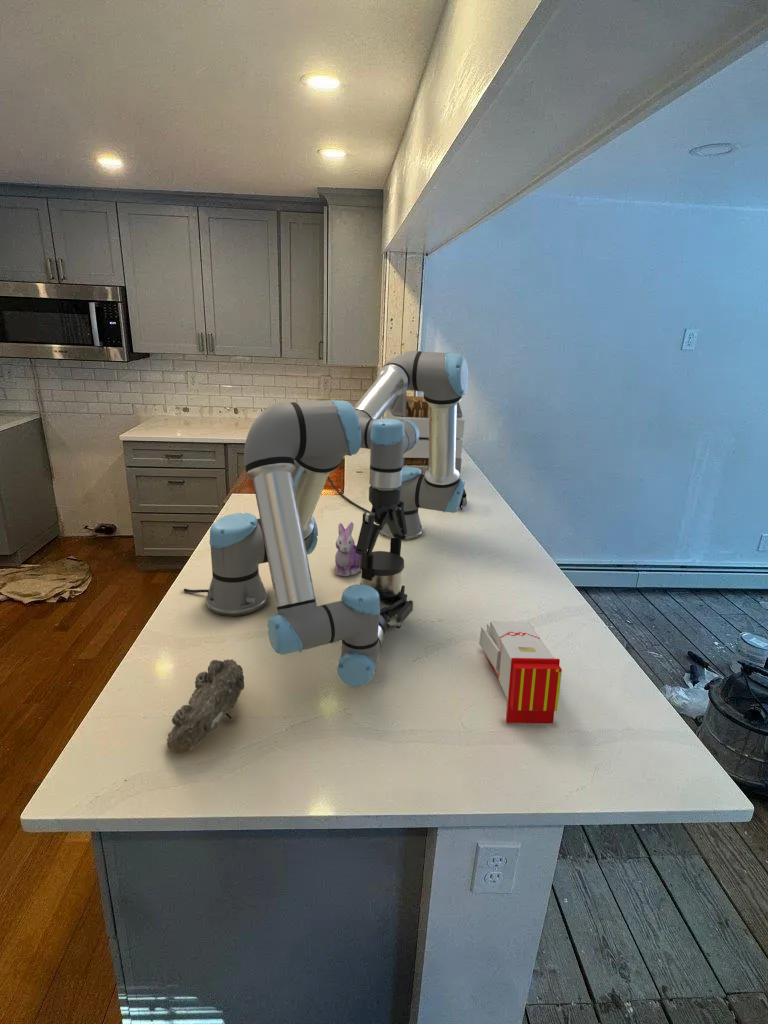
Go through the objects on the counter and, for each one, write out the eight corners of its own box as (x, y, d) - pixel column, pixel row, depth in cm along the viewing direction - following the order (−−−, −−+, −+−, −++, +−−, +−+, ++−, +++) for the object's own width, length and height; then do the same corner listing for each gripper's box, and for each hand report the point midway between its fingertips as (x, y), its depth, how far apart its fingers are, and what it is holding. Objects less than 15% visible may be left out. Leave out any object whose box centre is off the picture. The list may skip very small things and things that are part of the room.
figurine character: (467, 515, 225) (461, 499, 238) (469, 498, 221) (463, 482, 235) (450, 514, 224) (445, 498, 238) (452, 497, 221) (447, 482, 234)
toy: (526, 605, 135) (570, 665, 105) (521, 658, 137) (563, 730, 108) (475, 604, 134) (506, 664, 105) (472, 657, 137) (500, 729, 108)
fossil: (192, 660, 117) (244, 628, 112) (224, 691, 120) (276, 661, 115) (142, 746, 98) (202, 712, 93) (182, 779, 101) (242, 748, 96)
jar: (378, 605, 152) (381, 550, 146) (406, 619, 145) (409, 562, 140) (351, 617, 145) (353, 560, 139) (379, 633, 138) (381, 574, 133)
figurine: (340, 580, 164) (341, 532, 159) (327, 566, 172) (327, 519, 167) (369, 574, 168) (371, 527, 163) (355, 561, 177) (356, 515, 171)
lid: (371, 553, 147) (371, 547, 146) (411, 562, 142) (411, 556, 142) (350, 569, 137) (350, 563, 137) (392, 580, 133) (393, 574, 132)
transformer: (382, 463, 289) (386, 382, 275) (445, 464, 293) (451, 384, 279) (390, 482, 257) (394, 392, 243) (460, 483, 261) (468, 394, 247)
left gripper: (318, 642, 129) (339, 596, 149) (417, 654, 126) (425, 605, 147) (318, 612, 126) (340, 570, 147) (419, 624, 123) (427, 579, 144)
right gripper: (399, 473, 144) (395, 552, 151) (340, 494, 126) (339, 582, 133) (424, 478, 140) (419, 559, 147) (367, 501, 122) (364, 592, 129)
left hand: (382, 587), depth 147 cm, fingers closed on jar, 10 cm apart
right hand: (381, 570), depth 140 cm, fingers closed on lid, 11 cm apart
